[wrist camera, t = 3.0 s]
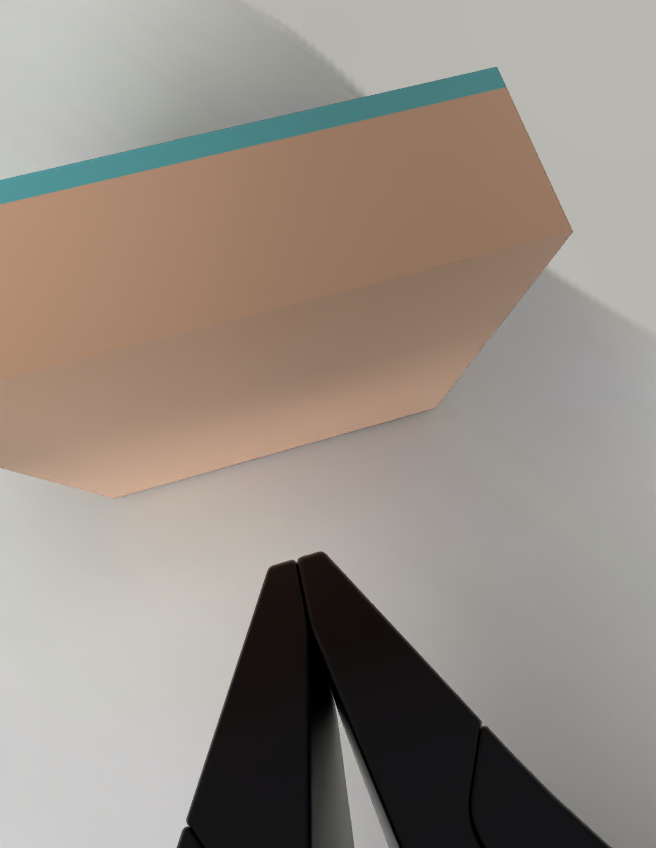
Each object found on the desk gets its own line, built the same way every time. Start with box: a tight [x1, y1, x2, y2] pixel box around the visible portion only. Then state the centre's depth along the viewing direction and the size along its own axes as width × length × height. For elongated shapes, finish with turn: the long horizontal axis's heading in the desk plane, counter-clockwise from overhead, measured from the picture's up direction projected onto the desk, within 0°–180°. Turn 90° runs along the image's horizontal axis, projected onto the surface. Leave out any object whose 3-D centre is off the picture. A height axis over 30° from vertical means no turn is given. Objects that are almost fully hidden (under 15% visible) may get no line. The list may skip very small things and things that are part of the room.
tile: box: [0, 67, 573, 498], centre depth 12 cm, size 3×10×9 cm, turn 106°
